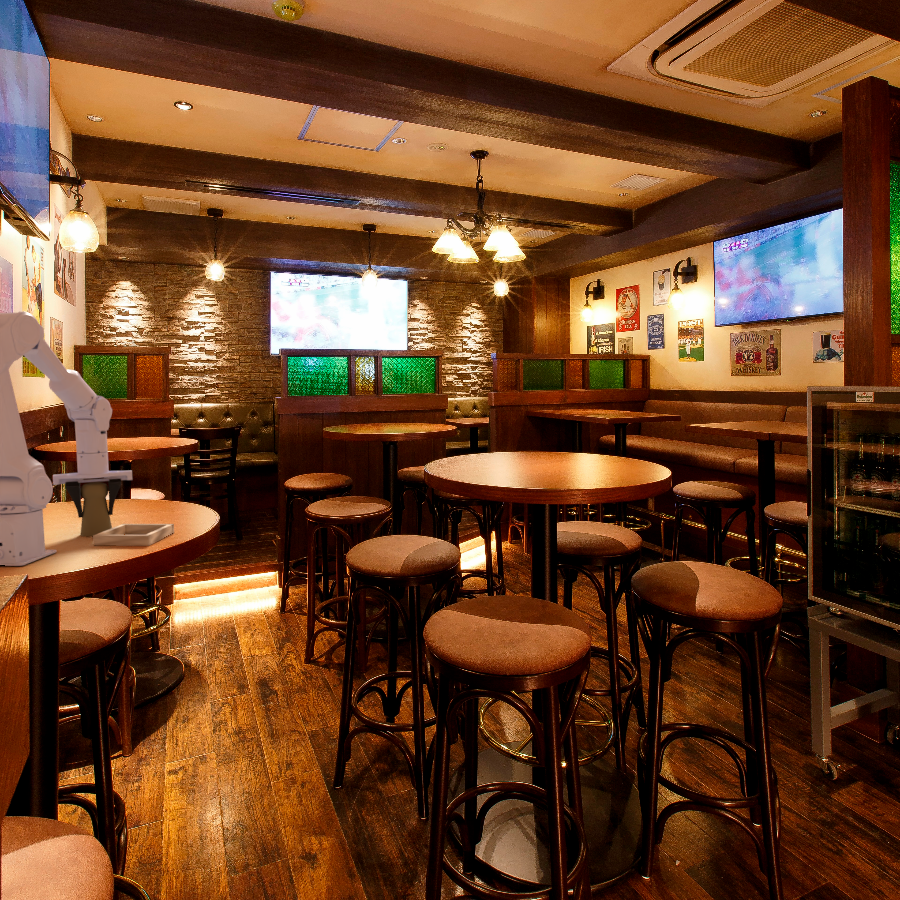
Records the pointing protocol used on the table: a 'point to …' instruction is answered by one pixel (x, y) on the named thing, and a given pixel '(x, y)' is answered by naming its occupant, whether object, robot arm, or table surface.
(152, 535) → the open square wooden box
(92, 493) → the cork
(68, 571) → the table surface
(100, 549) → the table surface
